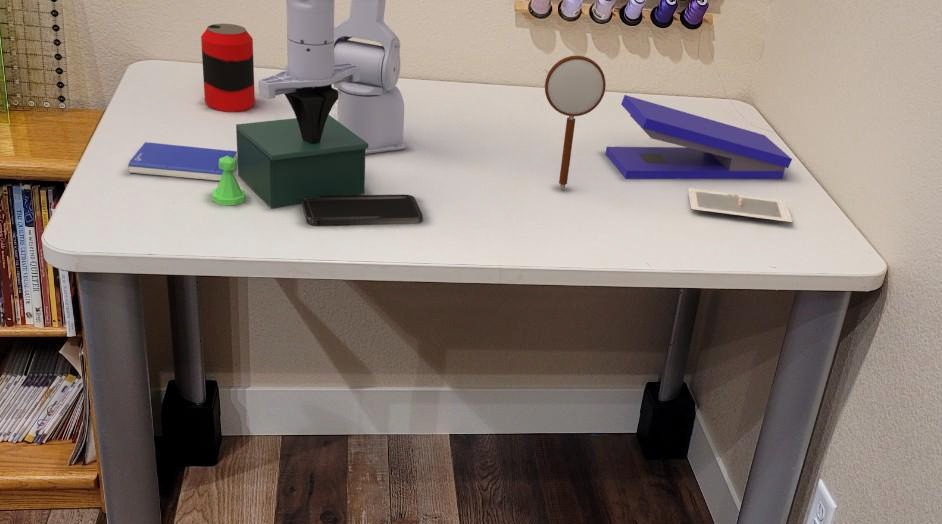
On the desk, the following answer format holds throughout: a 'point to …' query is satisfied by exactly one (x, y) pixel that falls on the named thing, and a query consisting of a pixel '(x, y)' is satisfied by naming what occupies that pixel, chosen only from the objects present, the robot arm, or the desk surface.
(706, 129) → the stapler
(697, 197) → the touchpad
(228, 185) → the game piece
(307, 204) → the phone
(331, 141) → the bin lid
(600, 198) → the desk surface
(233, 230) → the desk surface
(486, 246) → the desk surface
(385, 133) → the robot arm
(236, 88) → the soda can
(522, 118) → the desk surface
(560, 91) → the magnifying glass
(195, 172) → the hard drive
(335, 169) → the bin
